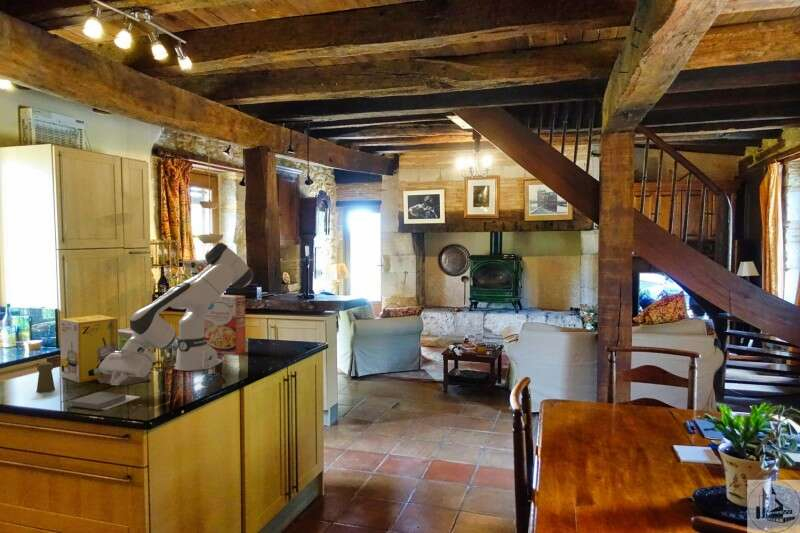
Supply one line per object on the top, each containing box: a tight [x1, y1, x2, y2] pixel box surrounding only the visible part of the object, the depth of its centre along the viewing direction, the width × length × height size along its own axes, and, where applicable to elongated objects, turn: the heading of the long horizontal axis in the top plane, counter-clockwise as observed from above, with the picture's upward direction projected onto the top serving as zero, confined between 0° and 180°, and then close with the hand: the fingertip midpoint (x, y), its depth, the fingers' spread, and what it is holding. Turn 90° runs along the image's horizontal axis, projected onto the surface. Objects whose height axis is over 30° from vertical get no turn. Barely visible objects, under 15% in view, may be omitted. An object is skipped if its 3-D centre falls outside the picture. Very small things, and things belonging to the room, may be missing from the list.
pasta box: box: [204, 294, 246, 356], centre depth 279 cm, size 23×8×30 cm, turn 71°
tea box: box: [118, 327, 151, 352], centre depth 258 cm, size 15×10×15 cm
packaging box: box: [59, 314, 119, 384], centre depth 227 cm, size 16×16×25 cm
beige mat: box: [100, 394, 140, 411], centre depth 191 cm, size 16×16×1 cm
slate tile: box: [70, 391, 127, 410], centre depth 188 cm, size 2×12×12 cm
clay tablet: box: [96, 373, 150, 386], centre depth 220 cm, size 14×5×20 cm
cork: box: [36, 361, 56, 394], centre depth 205 cm, size 6×6×11 cm
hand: (113, 384), depth 194 cm, fingers closed
